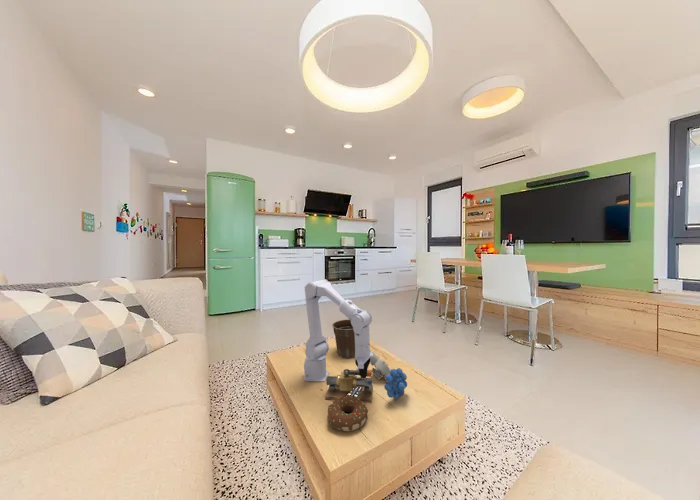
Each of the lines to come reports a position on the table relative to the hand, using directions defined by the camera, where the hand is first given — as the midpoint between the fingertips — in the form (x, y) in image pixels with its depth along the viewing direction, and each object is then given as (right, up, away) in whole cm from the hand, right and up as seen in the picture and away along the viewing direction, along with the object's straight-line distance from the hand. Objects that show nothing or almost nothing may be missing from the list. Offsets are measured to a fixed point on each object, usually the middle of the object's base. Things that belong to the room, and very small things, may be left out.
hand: (363, 377), depth 98 cm
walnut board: (-5, -8, +3) cm, 10 cm away
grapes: (+13, -8, -2) cm, 15 cm away
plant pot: (-6, -7, +38) cm, 39 cm away
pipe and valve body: (-5, -7, +3) cm, 9 cm away
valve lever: (-2, 0, +2) cm, 3 cm away
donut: (-6, -9, -11) cm, 16 cm away
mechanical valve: (+3, -8, +12) cm, 14 cm away
